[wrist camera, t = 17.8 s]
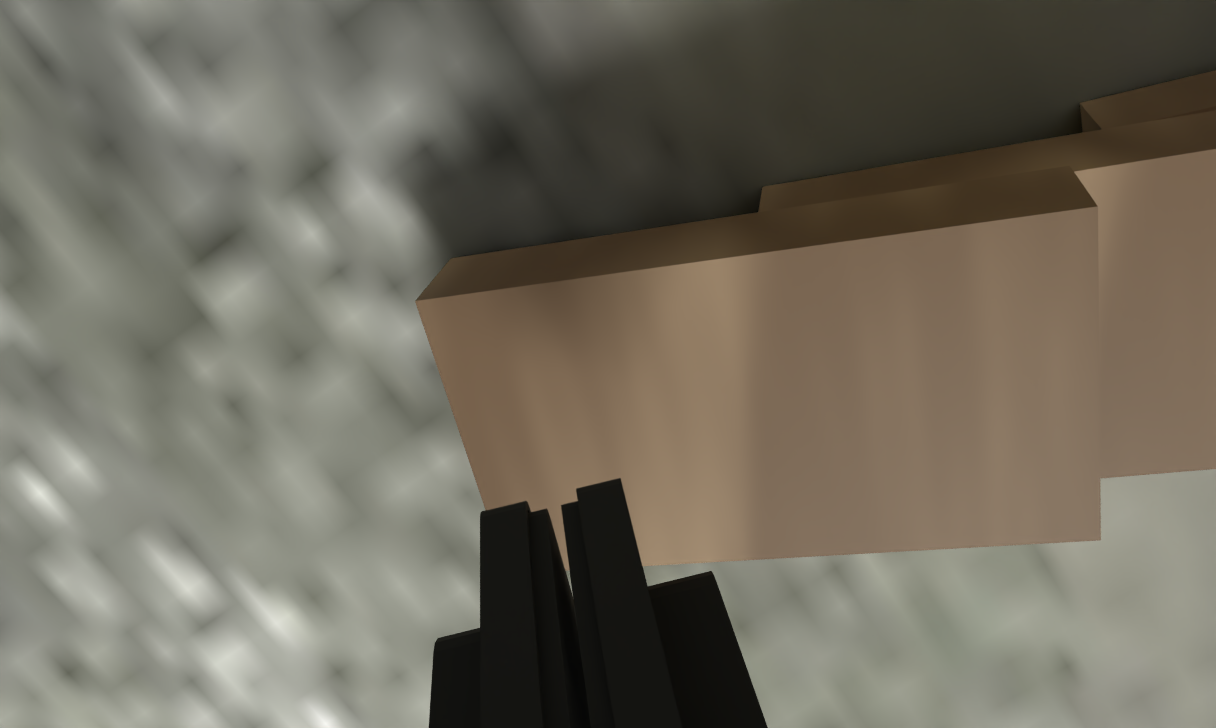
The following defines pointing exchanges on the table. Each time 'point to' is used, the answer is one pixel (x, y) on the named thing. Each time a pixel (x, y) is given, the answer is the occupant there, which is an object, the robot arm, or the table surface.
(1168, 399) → the walnut domino
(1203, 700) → the table surface
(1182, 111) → the walnut domino
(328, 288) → the table surface
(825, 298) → the walnut domino
